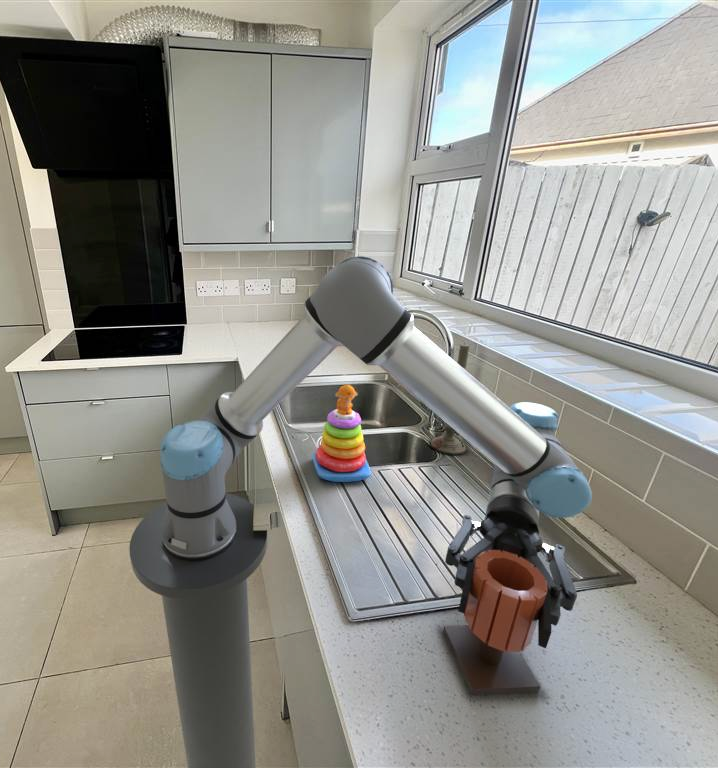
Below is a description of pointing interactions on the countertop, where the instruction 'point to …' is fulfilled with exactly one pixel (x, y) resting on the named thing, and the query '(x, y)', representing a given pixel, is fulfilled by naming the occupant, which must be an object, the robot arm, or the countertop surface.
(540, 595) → the ring
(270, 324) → the countertop surface
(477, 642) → the ring holder
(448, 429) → the candlestick holder
